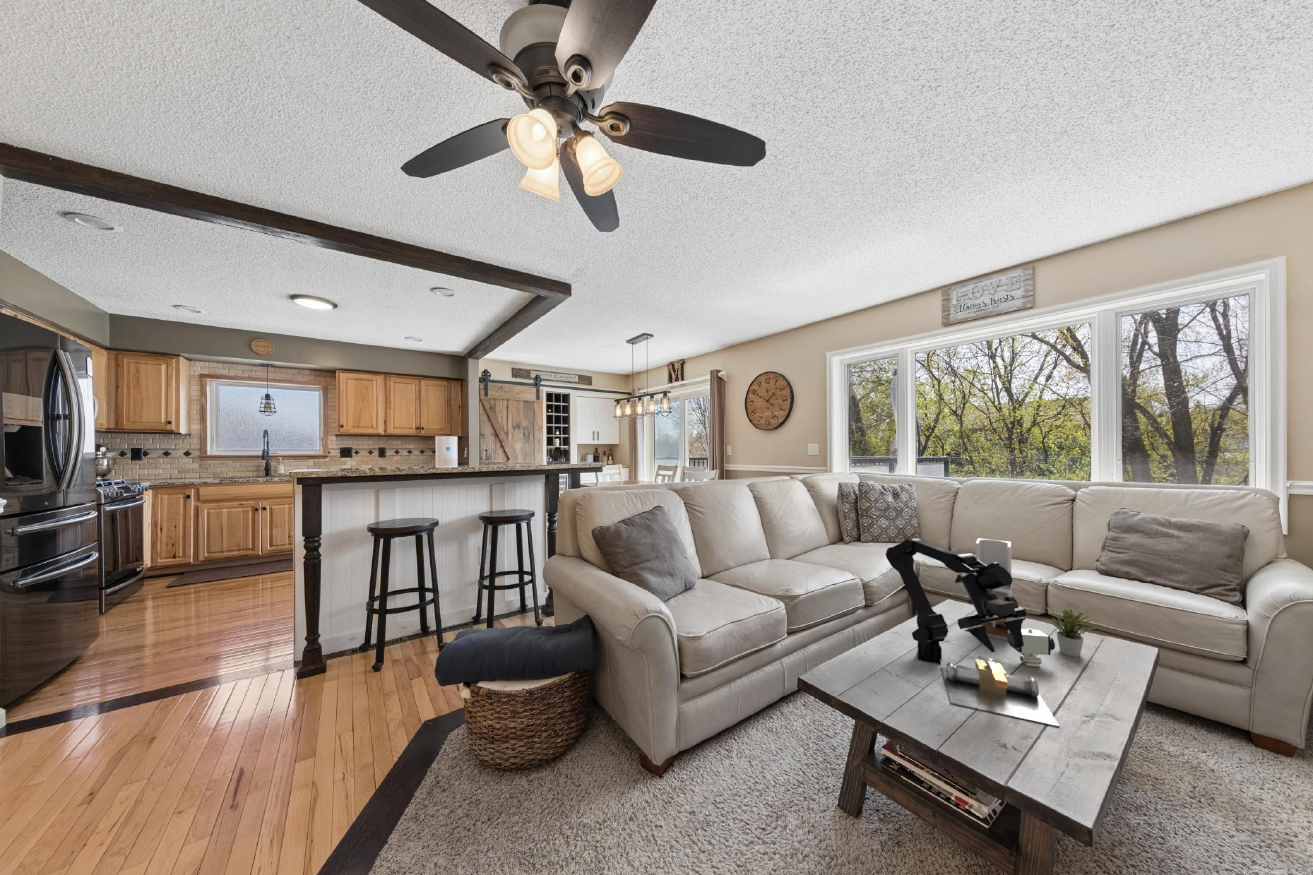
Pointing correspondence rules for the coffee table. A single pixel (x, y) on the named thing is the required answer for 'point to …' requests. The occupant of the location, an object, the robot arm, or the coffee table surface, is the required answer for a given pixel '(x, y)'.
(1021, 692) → the pipe on metal plate
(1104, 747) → the coffee table surface
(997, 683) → the valve lever
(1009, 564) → the white shelf tower
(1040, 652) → the pneumatic valve
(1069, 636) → the house plant
